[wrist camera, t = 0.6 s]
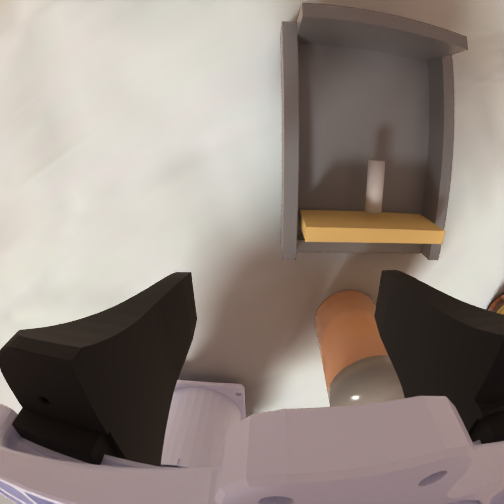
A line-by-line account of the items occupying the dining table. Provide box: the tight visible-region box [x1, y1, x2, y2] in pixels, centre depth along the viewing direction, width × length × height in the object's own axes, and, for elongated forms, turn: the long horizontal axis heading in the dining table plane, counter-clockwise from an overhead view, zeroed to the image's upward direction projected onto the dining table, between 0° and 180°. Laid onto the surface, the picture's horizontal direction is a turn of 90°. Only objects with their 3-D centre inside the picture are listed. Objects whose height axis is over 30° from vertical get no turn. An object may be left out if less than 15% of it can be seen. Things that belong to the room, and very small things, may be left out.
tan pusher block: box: [299, 159, 445, 244], centre depth 17 cm, size 4×8×4 cm, turn 91°
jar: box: [315, 290, 405, 407], centre depth 20 cm, size 5×5×8 cm
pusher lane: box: [280, 3, 468, 260], centre depth 16 cm, size 14×11×6 cm
